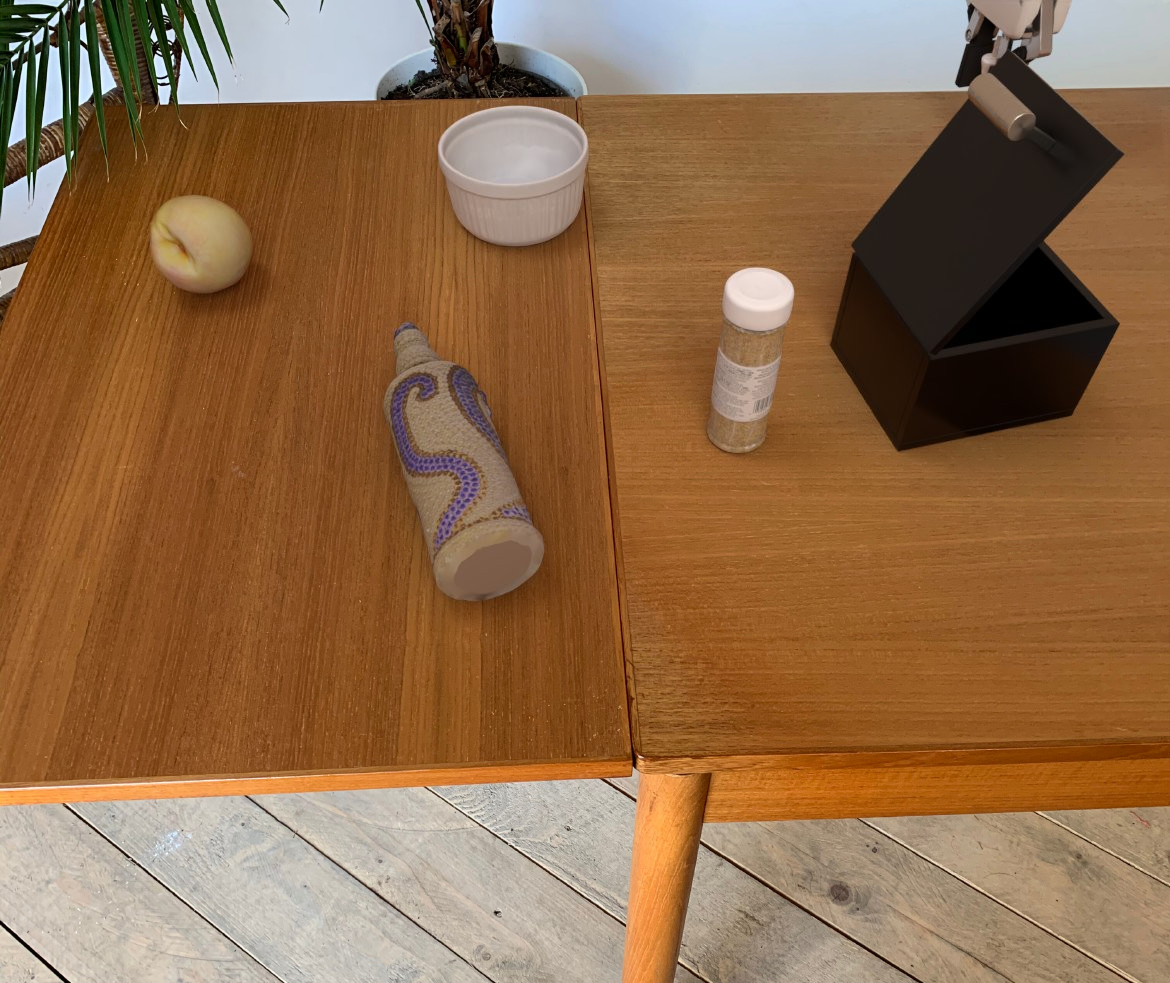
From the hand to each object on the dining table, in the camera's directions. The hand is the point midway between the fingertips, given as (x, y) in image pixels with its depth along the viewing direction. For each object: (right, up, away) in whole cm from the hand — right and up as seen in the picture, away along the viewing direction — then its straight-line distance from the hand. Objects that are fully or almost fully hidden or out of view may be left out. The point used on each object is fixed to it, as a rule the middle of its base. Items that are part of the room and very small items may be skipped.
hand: (981, 94), depth 98 cm
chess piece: (0, -3, +4) cm, 5 cm away
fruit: (-70, -22, -10) cm, 74 cm away
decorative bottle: (-47, -39, -24) cm, 66 cm away
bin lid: (-13, -22, -31) cm, 40 cm away
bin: (-10, -31, -18) cm, 37 cm away
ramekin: (-45, -13, -4) cm, 47 cm away
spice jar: (-27, -36, -21) cm, 50 cm away
